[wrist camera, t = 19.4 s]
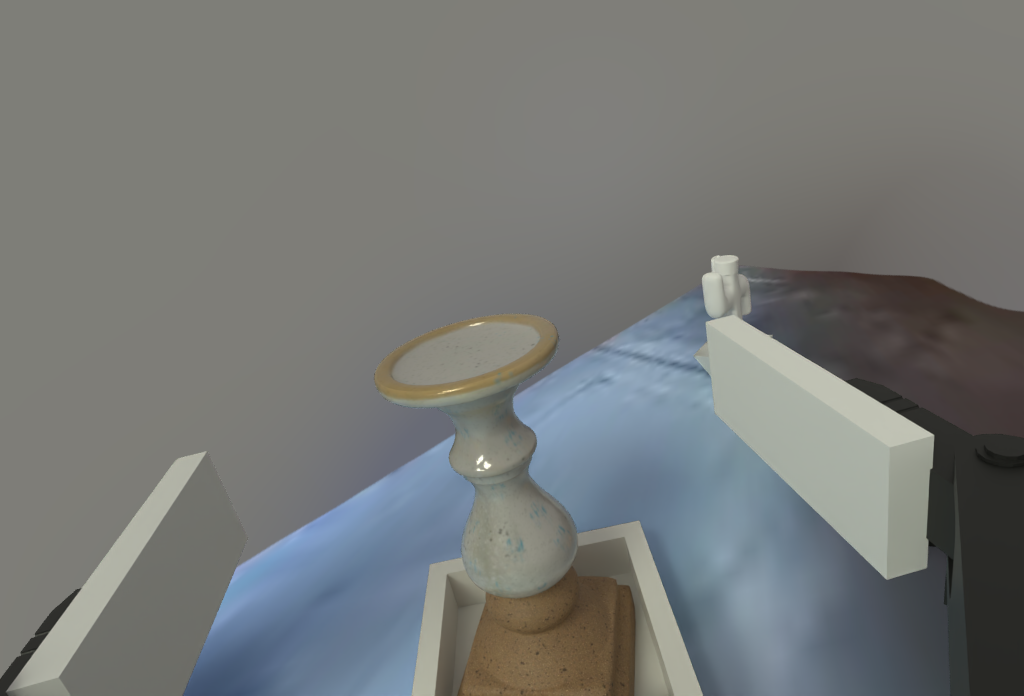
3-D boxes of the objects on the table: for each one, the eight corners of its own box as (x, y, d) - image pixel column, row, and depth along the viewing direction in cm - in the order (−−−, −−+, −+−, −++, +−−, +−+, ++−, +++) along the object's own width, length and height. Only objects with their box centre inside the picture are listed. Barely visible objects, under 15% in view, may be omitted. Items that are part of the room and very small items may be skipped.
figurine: (777, 358, 76) (768, 243, 71) (752, 392, 70) (740, 269, 64) (721, 354, 81) (709, 246, 75) (693, 386, 74) (677, 271, 69)
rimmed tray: (422, 836, 34) (399, 784, 32) (444, 606, 50) (430, 564, 48) (722, 781, 33) (713, 724, 31) (647, 564, 49) (639, 520, 47)
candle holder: (495, 604, 47) (408, 324, 39) (636, 601, 44) (574, 298, 36) (456, 741, 37) (328, 407, 29) (633, 750, 34) (548, 380, 26)
